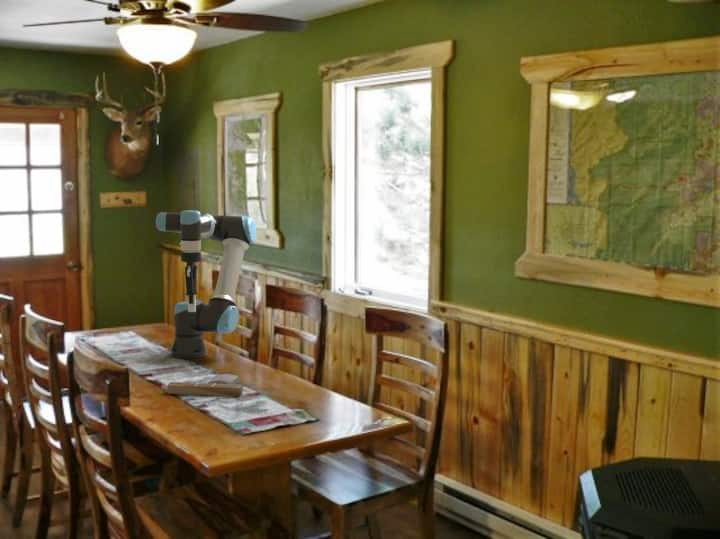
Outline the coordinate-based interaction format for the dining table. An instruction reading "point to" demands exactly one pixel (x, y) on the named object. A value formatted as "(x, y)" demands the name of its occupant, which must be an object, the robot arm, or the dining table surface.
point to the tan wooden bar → (204, 389)
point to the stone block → (224, 379)
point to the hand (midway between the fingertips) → (191, 311)
